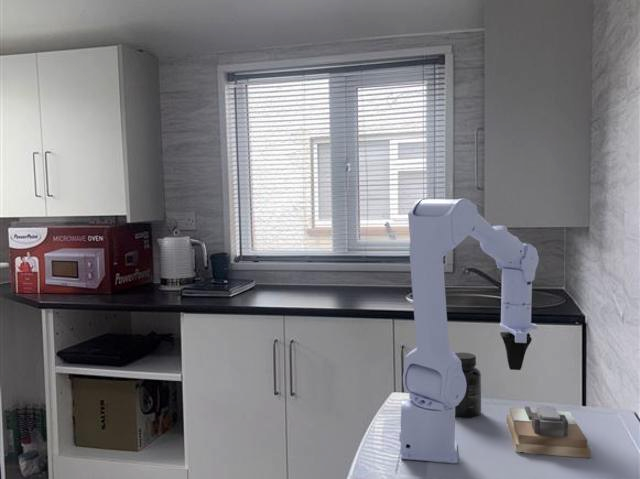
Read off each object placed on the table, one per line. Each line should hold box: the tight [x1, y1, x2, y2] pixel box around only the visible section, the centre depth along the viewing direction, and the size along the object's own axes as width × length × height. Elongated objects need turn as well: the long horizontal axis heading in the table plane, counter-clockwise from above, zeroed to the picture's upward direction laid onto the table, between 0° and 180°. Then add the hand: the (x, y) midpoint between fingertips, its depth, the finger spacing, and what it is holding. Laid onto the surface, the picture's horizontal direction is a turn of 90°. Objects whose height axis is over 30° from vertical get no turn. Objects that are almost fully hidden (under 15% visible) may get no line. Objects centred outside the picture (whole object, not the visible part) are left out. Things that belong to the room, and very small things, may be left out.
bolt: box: [536, 405, 560, 421], centre depth 100 cm, size 3×5×3 cm, turn 168°
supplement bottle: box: [454, 352, 482, 419], centre depth 115 cm, size 7×7×12 cm
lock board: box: [506, 405, 591, 459], centre depth 102 cm, size 12×13×6 cm
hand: (514, 368), depth 113 cm, fingers closed
